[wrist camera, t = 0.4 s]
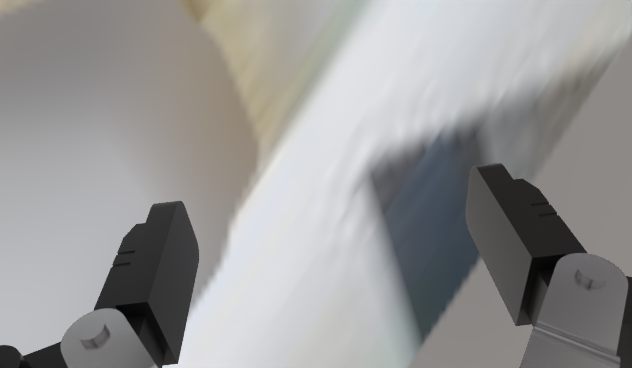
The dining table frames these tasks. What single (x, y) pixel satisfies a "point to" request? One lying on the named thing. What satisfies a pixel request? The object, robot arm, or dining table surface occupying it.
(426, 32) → the dining table surface
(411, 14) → the dining table surface
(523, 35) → the dining table surface
